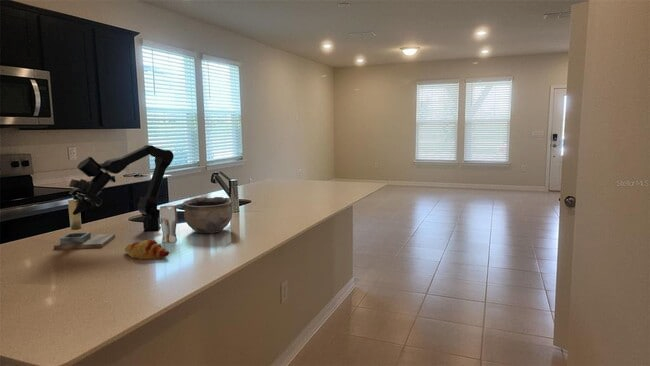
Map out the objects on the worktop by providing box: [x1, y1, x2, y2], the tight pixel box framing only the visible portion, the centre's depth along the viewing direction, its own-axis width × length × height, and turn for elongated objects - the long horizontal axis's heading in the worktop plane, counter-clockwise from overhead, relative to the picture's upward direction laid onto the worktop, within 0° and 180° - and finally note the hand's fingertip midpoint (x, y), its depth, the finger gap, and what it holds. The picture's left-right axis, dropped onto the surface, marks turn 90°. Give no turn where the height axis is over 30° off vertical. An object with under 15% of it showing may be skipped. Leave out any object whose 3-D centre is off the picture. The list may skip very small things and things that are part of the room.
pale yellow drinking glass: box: [67, 199, 83, 231], centre depth 170 cm, size 4×4×12 cm
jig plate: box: [53, 231, 116, 250], centre depth 175 cm, size 18×16×4 cm
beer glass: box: [159, 205, 178, 244], centre depth 177 cm, size 7×7×15 cm
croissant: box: [124, 238, 170, 260], centre depth 157 cm, size 21×10×8 cm, turn 69°
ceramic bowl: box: [182, 196, 233, 234], centre depth 194 cm, size 22×22×15 cm
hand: (71, 213), depth 169 cm, fingers closed on pale yellow drinking glass, 4 cm apart
